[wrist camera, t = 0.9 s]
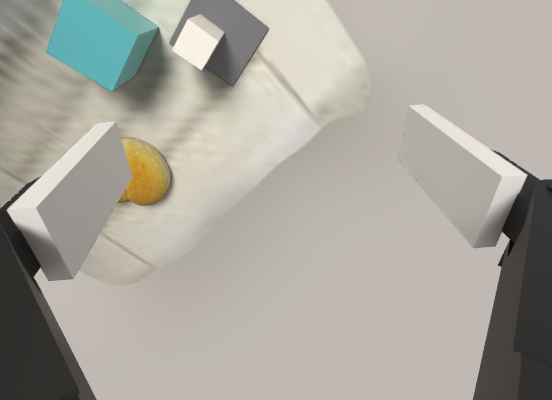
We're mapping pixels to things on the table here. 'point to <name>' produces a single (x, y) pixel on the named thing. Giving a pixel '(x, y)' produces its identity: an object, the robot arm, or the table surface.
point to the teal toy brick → (101, 40)
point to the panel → (227, 35)
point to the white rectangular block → (198, 40)
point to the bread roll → (145, 173)
